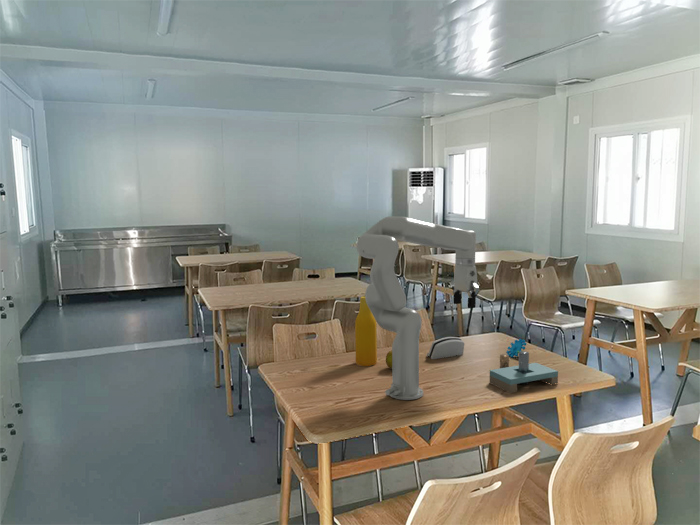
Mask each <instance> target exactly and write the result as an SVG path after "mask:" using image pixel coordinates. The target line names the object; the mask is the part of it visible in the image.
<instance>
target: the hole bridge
mask: <svg viewBox="0 0 700 525" xmlns="http://www.w3.org/2000/svg"><path fill="white" fill-rule="evenodd" d="M540 380H542V381H541V382H543V381H544V382H543V383H545V382H547V383H550V384H555V383H559V382H558V381H559V370H556V369H554V368H551V367H548V366H546V365H543V364H542V363H541V364H540V363H538V362H532V363H530V362H529V373H525V374H522V373H520V372H519V364H518V365H513V366H509V367H506V368H500V367H499V368H495V369H490V370H489V384H491V385H493V386H495V387H498V388H500V389H501V390H503V391H506V392H508V393H509V394H510V393H511V394H513V393H517V392H518V385H519V384H518V383H524V382H528V383H529V382H533V381H540ZM547 383H546V384H547ZM550 384H549V385H550Z"/></svg>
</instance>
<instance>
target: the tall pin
mask: <svg viewBox="0 0 700 525" xmlns="http://www.w3.org/2000/svg"><path fill="white" fill-rule="evenodd" d="M529 361H530V352H529V351H526V350H521V351H520V352H519V353H518V365H519V372H520V373H522V374H525V373H529V364H530V362H529ZM517 385H520V386H528V385H529V382H524V383H518V384H517Z"/></svg>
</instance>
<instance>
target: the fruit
mask: <svg viewBox="0 0 700 525" xmlns="http://www.w3.org/2000/svg"><path fill="white" fill-rule="evenodd" d="M385 364H386V366H387V368H389V369H391V370H392V349H391V350H389V351H388V352H387V354H386V357H385Z"/></svg>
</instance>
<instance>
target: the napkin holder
mask: <svg viewBox="0 0 700 525" xmlns="http://www.w3.org/2000/svg"><path fill="white" fill-rule="evenodd" d="M464 350H465V342H464V340H463V339H461V338H460V337H457V336H446V337H442V338H439V339H437V340H434V341H433V342H432V343H431V346H430V349H429V351H428V352H427V353H426V357H427V358H428V356H429V357H430V359H431V360H436V359H437V360H438V359H443V358H444V357H445V358H450V356H451V357H456V355H457V356H463V355H464ZM462 354H463V355H462Z"/></svg>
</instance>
